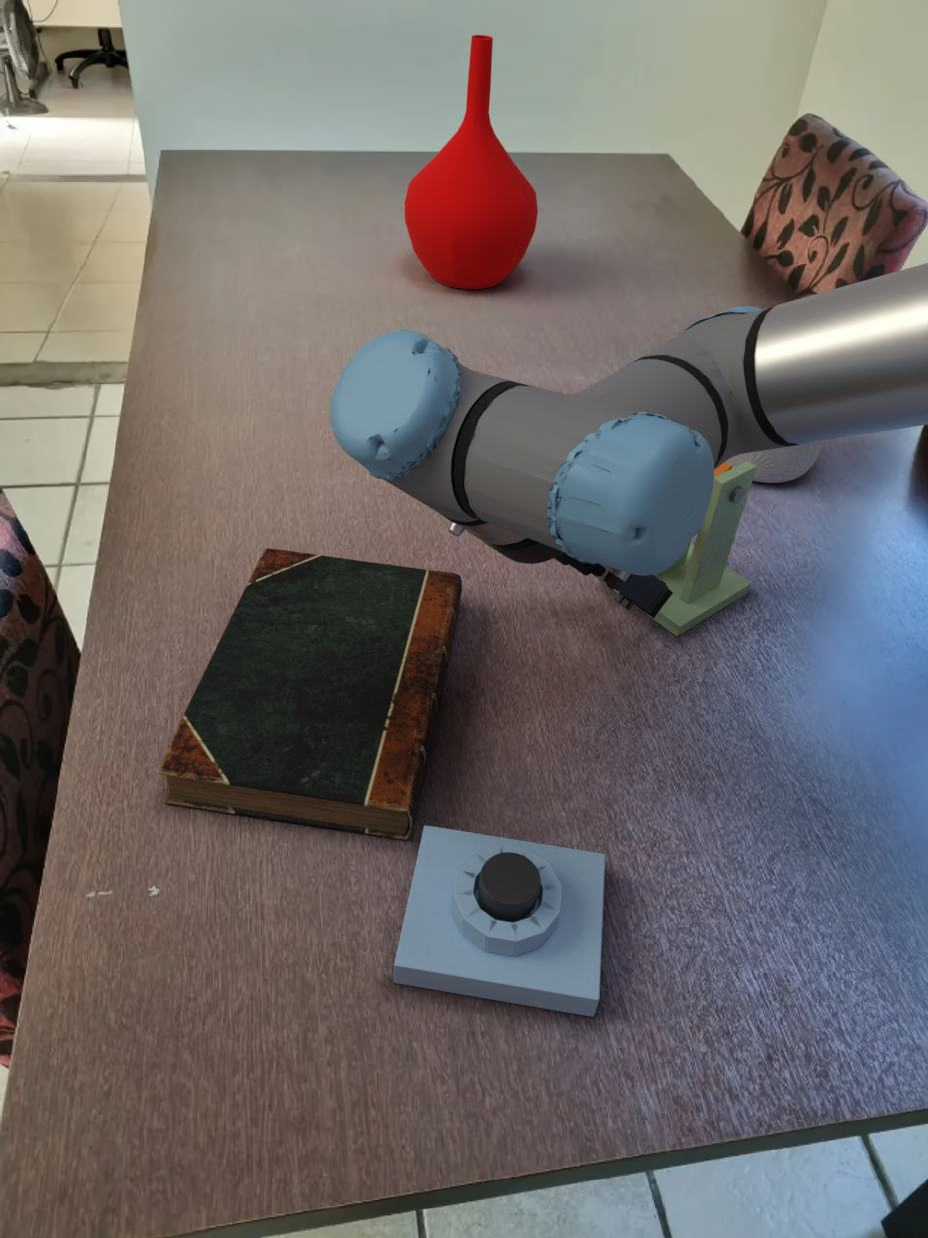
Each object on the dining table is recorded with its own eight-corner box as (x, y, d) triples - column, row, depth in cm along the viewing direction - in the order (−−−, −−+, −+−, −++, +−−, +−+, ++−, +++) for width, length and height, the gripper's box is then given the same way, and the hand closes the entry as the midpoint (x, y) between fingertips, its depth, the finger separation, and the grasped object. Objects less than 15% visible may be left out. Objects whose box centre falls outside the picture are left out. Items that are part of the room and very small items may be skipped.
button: (539, 873, 58) (543, 856, 57) (534, 925, 55) (537, 909, 54) (482, 863, 58) (484, 847, 57) (474, 915, 56) (476, 899, 55)
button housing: (600, 872, 63) (610, 837, 60) (593, 1018, 55) (604, 985, 52) (423, 843, 63) (425, 807, 61) (393, 983, 56) (393, 949, 53)
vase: (418, 306, 127) (425, 53, 107) (392, 253, 140) (394, 19, 120) (546, 299, 131) (577, 55, 111) (510, 249, 144) (531, 22, 124)
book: (267, 577, 83) (161, 804, 64) (264, 545, 81) (153, 771, 62) (462, 604, 82) (411, 842, 63) (464, 572, 80) (412, 810, 61)
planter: (826, 499, 98) (862, 405, 90) (707, 489, 98) (734, 394, 90) (802, 437, 107) (833, 347, 99) (693, 427, 107) (716, 337, 100)
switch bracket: (676, 636, 80) (715, 504, 71) (609, 587, 85) (637, 456, 76) (748, 592, 85) (793, 463, 76) (681, 548, 90) (716, 421, 81)
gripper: (403, 480, 66) (548, 574, 85) (569, 609, 57) (689, 681, 76) (466, 391, 65) (597, 506, 84) (645, 507, 56) (746, 606, 75)
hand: (640, 589), depth 80 cm, fingers closed on switch lever, 4 cm apart
